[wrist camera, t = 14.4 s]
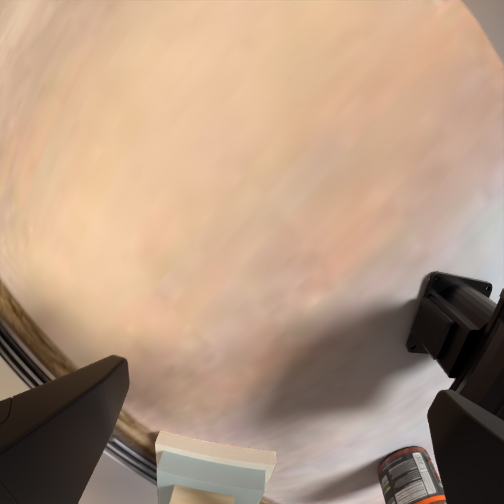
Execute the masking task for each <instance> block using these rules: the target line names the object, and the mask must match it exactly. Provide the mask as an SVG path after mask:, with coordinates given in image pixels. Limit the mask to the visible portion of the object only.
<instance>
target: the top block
mask: <svg viewBox="0 0 504 504" xmlns="http://www.w3.org/2000/svg"><path fill="white" fill-rule="evenodd" d="M175 485H179V486H184V487H188V488H193V489H198V490H203V491H208V492H213V493H219V494H225V495H232V496H235V501H234V504H258V503H259V501H260V499H261V497H262V495H263V493H264V491H265V470H258V469H251V468H244V467H238V466H232V465H226V464H220V463H215V462H210V461H205V460H201V459H196V458H192V457H188V456H183V455H179V454H175V453H172V452H168V451H163V453H162V456H161V459H160V462H159V465H158V467H157V489H158V504H170V500H171V497H172V493H173V490H174V486H175Z"/></svg>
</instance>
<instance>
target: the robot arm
mask: <svg viewBox="0 0 504 504" xmlns="http://www.w3.org/2000/svg"><path fill="white" fill-rule="evenodd" d="M437 277H439V278H438V280H437V281H435V280H436V278H437ZM487 287H488V288H487ZM486 288H487V290H486ZM491 291H492V284H490V283H489V282H487V281H482V280H477V279H472V278H467V277H463V276H458V275H453V274H448V273H443V272H438V271H436V272H434V273H433V274H432V275H431V277H430V280H429V283H428V286H427V289H426V292H425V295H424V298H423V300H422V302H421V304H420V307H419V310H418V313H417V316H416V318H415V321H414V324H413V326H412V329H411V330H412V331H411V333H410V336H409V338H408V341H407V343H406V349H407V350H408V351H409V352H410V353H425V354H430V356H431V357H432V358H433V359H434V360H436V361H437V362H438V364H439V365H440V366H441V368H442V369H443V370H444V372H445V373H446V374H447V376H448V377H449V378H454V380H455V381H454V382H453V384H452V385H451V387H450V388H449V390H441V391H439V392H438V393H437V395H436V397H435V399H434V401H433V403H432V404H431V406H430V408H429V410H428V414H427V418H428V423H429V428H430V433H431V439H432V444H433V450H434V455H435V460H436V464H437V467H438V471H439V475H440V479H441V483H442V487H443V491H444V495H445V499H446V504H504V288H503V289H502V291H501V294H500V299H499V301H498V304H496V303H495V302H493V301H492V300H491V299H489V297H490V294H491ZM413 344H414V346H413V347H411V346H412V345H413ZM129 383H130V381H129V371H128V362H127V360H126V359H125V358H124V357H120V356H116V355H111V356H108V357H106V358H104V359H102V360H99V361H97V362H95V363H92V364H90V365H88V366H85V367H83V368H81V369H78V370H76V371H74V372H71V373H69V374H67V375H64V376H62V377H59V378H57V379H55V380H52V381H50V382H47V383H45V384H42V385H40V386H38V387H35V388H33V389H30V390H28V391H25V392H23V393H20V394H18V395H15V396H13V398H11V397H10V398H7V399H5V400H2V401H0V504H78V502H79V500H80V498H81V496H82V494H83V491H84V490H85V487H86V485H87V483H88V481H89V479H90V477H91V475H92V473H93V471H94V469H95V467H96V465H97V463H98V461H99V459H100V457H101V455H102V453H103V451H104V449H105V447H106V445H107V443H108V441H109V439H110V437H111V435H112V432H113V430H114V427H115V425H116V422H117V419H118V416H119V414H120V411H121V408H122V405H123V403H124V400H125V397H126V394H127V392H128V389H129Z"/></svg>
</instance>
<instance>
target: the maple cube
mask: <svg viewBox="0 0 504 504" xmlns="http://www.w3.org/2000/svg"><path fill="white" fill-rule="evenodd" d="M234 501H235V496H232V495H225V494H219V493H213V492H208V491H203V490H198V489H193V488H188V487H184V486H179V485H175V486H174V490H173V493H172V497H171V500H170V504H234Z"/></svg>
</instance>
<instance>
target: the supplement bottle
mask: <svg viewBox="0 0 504 504" xmlns="http://www.w3.org/2000/svg"><path fill="white" fill-rule="evenodd" d="M378 476H379V481H380V484H381V488H382V491H383V495H384V499H385V502H386V504H446V499H445V495H444V491H443V487H442V484H441V482H440V479H439V477H438V475H437V472H436V470H435V468H434V465H433V464H432V461H431V459H430V457H429V455H428V453H427V451H426V450H425V449H424V448H422V447H409V448H405V449H402V450H400V451H397V452H396V453H394V454H392V455H390V456H389V457H388V458H386V459H385V460H384V461H383V462H382V463H381V465H380V466H379V468H378Z"/></svg>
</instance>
